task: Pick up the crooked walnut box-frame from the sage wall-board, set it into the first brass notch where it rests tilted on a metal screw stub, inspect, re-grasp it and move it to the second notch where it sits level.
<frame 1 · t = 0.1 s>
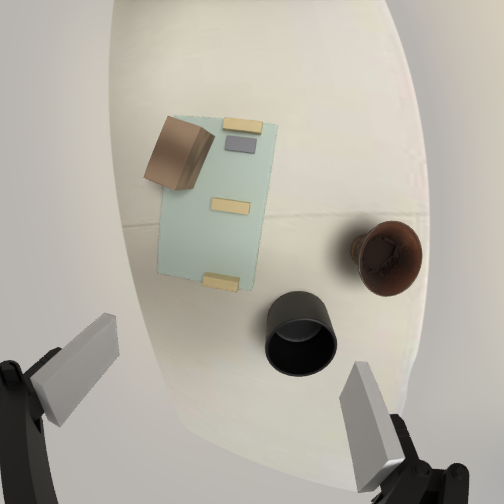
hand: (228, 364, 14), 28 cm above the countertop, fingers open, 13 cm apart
mug: (297, 324, 43), on the countertop
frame: (190, 156, 37), point 1 cm above the countertop, touching wall board
cup: (368, 242, 39), on the countertop
wall board: (213, 201, 40), on the countertop
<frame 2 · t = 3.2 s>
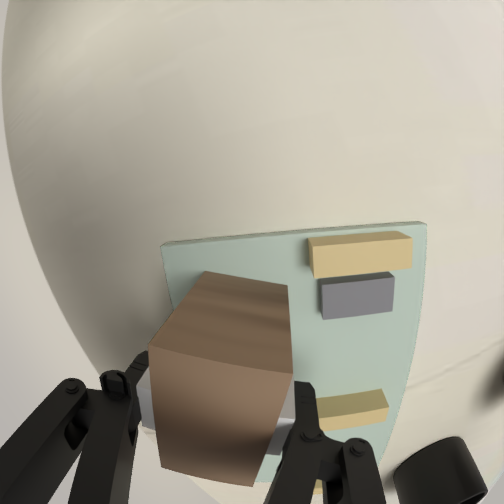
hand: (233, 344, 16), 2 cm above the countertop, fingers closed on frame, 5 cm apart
mug: (426, 464, 20), on the countertop
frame: (236, 340, 16), point 1 cm above the countertop, touching gripper, wall board
wall board: (304, 396, 18), on the countertop
when the fingers open (3 cm above the countertop, at t = 6.3 s): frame stays where it is, resting on wall board.
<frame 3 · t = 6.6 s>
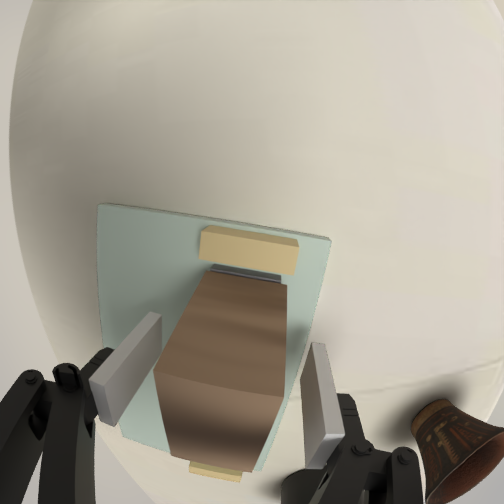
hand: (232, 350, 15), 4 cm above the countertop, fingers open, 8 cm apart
mug: (319, 484, 24), on the countertop
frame: (238, 332, 17), point 2 cm above the countertop, tilted 10°, touching wall board
cup: (437, 405, 20), on the countertop
wall board: (193, 372, 20), on the countertop
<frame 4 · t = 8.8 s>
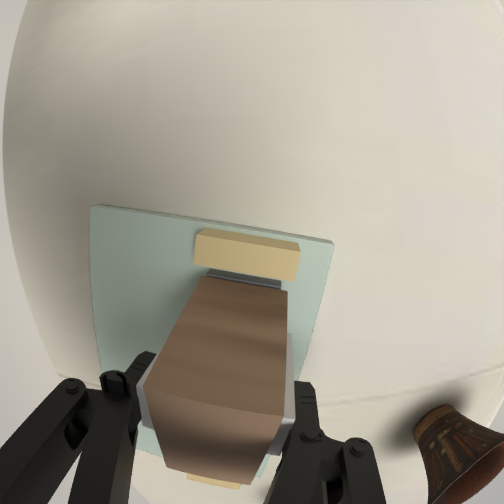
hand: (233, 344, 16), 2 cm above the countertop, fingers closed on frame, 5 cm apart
mug: (320, 490, 23), on the countertop
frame: (236, 340, 16), point 2 cm above the countertop, tilted 10°, touching gripper, wall board
cup: (440, 411, 19), on the countertop
wall board: (190, 379, 19), on the countertop
when the fingers open (3 cm above the countertop, at t = 12.9 s): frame drops 2 cm, resting on wall board.
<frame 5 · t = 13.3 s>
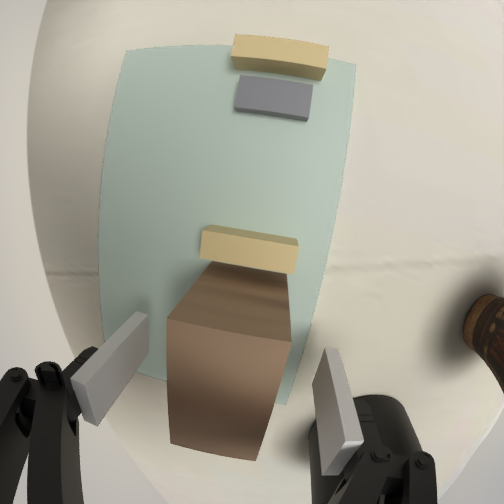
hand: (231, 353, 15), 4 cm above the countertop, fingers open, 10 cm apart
mug: (354, 434, 21), on the countertop
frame: (240, 325, 18), point 1 cm above the countertop, touching wall board
cup: (486, 305, 17), on the countertop
wall board: (205, 232, 17), on the countertop
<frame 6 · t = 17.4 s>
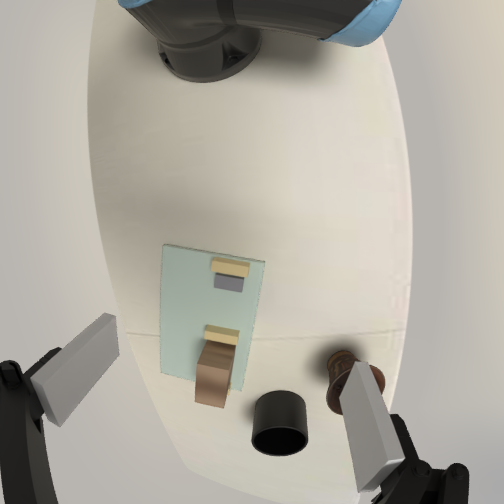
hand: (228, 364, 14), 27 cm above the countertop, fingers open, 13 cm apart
mug: (280, 410, 47), on the countertop
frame: (220, 358, 44), point 1 cm above the countertop, touching wall board
cup: (344, 355, 43), on the countertop
wall board: (205, 324, 43), on the countertop
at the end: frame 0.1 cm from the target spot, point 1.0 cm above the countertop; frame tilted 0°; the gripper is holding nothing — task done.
